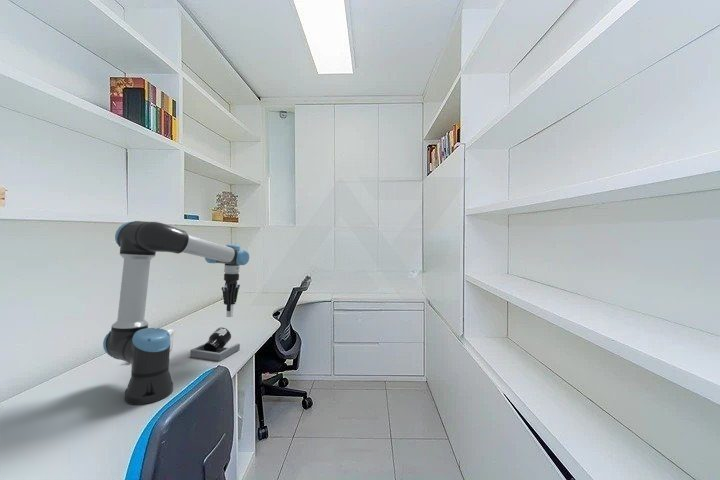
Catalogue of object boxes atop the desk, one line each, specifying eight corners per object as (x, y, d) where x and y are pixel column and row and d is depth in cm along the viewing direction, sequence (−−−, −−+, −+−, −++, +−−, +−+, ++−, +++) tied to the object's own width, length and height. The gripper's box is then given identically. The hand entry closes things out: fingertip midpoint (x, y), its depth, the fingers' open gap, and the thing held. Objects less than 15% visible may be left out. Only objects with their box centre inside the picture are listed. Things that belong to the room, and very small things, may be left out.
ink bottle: (227, 325, 163) (213, 340, 151) (235, 339, 165) (221, 354, 154) (213, 328, 165) (198, 343, 154) (220, 342, 168) (206, 357, 157)
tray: (219, 361, 148) (219, 354, 148) (190, 357, 151) (190, 350, 151) (239, 350, 163) (239, 343, 163) (212, 346, 167) (212, 340, 167)
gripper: (230, 274, 160) (227, 320, 160) (244, 272, 173) (242, 314, 173) (217, 273, 162) (215, 318, 161) (233, 271, 174) (230, 313, 174)
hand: (229, 316), depth 167 cm, fingers closed
